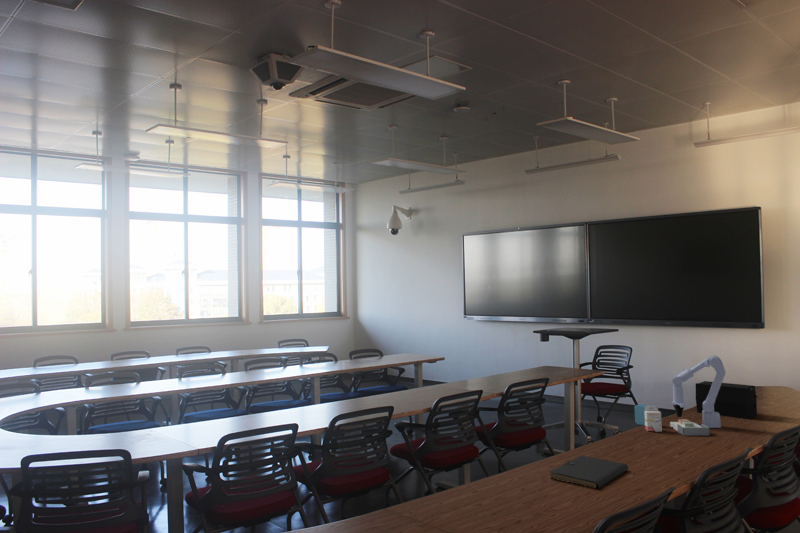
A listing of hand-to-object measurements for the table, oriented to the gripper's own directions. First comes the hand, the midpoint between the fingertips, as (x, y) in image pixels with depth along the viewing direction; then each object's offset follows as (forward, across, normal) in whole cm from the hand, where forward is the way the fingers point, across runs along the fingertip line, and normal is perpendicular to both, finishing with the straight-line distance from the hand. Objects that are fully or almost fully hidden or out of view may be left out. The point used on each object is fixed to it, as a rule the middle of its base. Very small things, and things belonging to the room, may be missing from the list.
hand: (679, 416), depth 356 cm
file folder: (+6, +101, -74) cm, 125 cm away
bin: (+5, +23, 0) cm, 24 cm away
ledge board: (+5, +11, 0) cm, 12 cm away
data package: (+5, 0, -20) cm, 21 cm away
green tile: (+2, +14, 0) cm, 14 cm away
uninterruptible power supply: (+5, -29, +41) cm, 50 cm away
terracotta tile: (+2, +8, 0) cm, 8 cm away
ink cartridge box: (+5, +16, -20) cm, 26 cm away
